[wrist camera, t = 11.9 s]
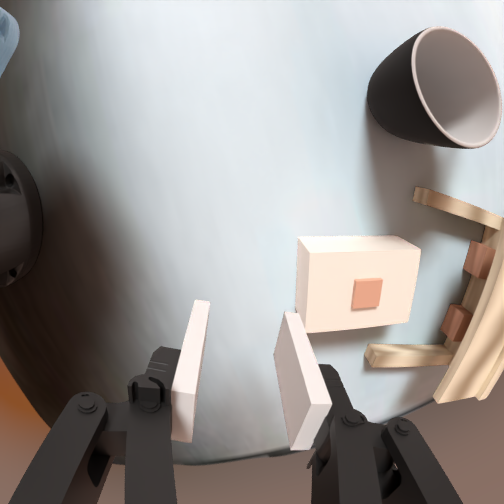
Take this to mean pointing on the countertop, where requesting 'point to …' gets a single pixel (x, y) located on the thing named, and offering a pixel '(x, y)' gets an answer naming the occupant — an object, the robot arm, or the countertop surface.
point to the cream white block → (354, 281)
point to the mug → (437, 91)
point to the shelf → (463, 315)
